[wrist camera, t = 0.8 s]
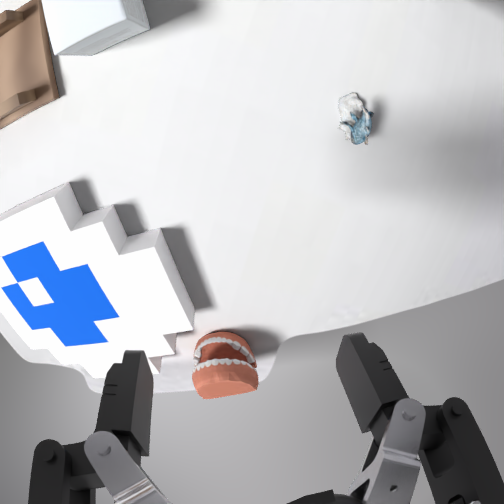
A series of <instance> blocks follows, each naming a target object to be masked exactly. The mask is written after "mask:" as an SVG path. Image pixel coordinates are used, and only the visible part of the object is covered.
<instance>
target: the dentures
mask: <svg viewBox="0 0 504 504" xmlns="http://www.w3.org/2000/svg"><path fill="white" fill-rule="evenodd" d="M193 362H194V365H195V368H194V370H193V373H192V380H193V383H194V386H195V388H196V390H197V392H198V394H199V395H200V396H201V397H203V399H212V398H219V397H225V396H230V395H236V394H242V393H247V392H251V391H255V390H257V387H258V374H257V371H256V369H255V368H257V365H256V361H255V358H254V355H253V353H252V351H251V349H250V347H249V345H248V343H247V342H246V341H245V340H244V339H243V338H241V337H240V336H238V335H237V334H234V333H230V332H216V333H211V334H207V335H205V336H203V337H202V338H201V339H200V340H199V341H198V343H197V345H196V348H195V352H194V359H193Z"/></svg>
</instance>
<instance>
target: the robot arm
mask: <svg viewBox="0 0 504 504" xmlns="http://www.w3.org/2000/svg"><path fill="white" fill-rule="evenodd" d="M336 368H337V372H338V374H339V377H340V379H341V382H342V384H343V387H344V389H345V391H346V394H347V396H348V399H349V401H350V404H351V406H352V409H353V411H354V414H355V416H356V418H357V421H358V424H359V426H360V429H361V431H362V433H365V432H368V431H371V432H372V434H373V437H372V439H371V441H370V444H369V447H368V449H367V452H366V455H365V457H364V460H363V463H362V465H361V468H360V470H359V472H358V475H357V476H356V478H355V479H354V481H353V483H352V484H351V486H350V488H349V490H348V492H347V494H346V495H342V494H334V493H333V490H328V491H325V492H321V493H316V494H311V495H307V496H304V497H301V498H299V499H297V500H295V501H292V502H290V503H287V504H410V501H411V498H412V495H413V491H414V488H415V485H416V481H417V478H418V474H419V470H420V465H421V463H422V466H423V468H424V471H425V474H426V477H427V480H428V482H429V485H430V488H431V491H432V494H433V497H434V500H435V503H436V504H504V483H503V480H502V478H501V476H500V473H499V471H498V468H497V466H496V463H495V461H494V459H493V457H492V454H491V452H490V450H489V448H488V446H487V444H486V441H485V439H484V437H483V435H482V433H481V431H480V429H479V427H478V425H477V423H476V421H475V419H474V417H473V415H472V413H471V411H470V409H469V408H468V405H467V404H466V403H465V402H464V401H463V400H462V399H460V398H456V397H452V398H449V399H447V400H446V401H445V402H444V403H443V405H437V406H423V405H422V404H421V403H420V402H419V401H417V400H415V399H411V398H409V397H408V395H407V393H406V391H405V389H404V388H403V386H402V384H401V382H400V380H399V379H398V377H397V375H396V373H395V372H394V370H393V369H392V366H391V364H390V362H388V359H387V357H386V355H385V353H384V352H383V350H382V349H381V348H380V347H378V346H377V345H376V344H375V343H368V341H367V339H366V337H365V335H364V334H363V333H355V334H348V335H344V336H343V339H342V342H341V345H340V348H339V352H338V355H337V358H336ZM104 385H105V386H104V388H103V395H102V397H101V403H100V408H99V413H98V418H97V424H96V429H95V431H94V433H93V434H91V435H90V436H89V437H88V438H87V440H85V441H83V442H80V443H75V444H68V445H61V444H59V443H58V442H57V441H55V440H51V439H47V440H44V441H41V442H40V443H39V444H38V445H37V446H36V449H35V451H34V456H33V463H32V471H31V479H30V489H29V500H28V504H95V493H96V488H101V487H106V488H107V490H108V491H109V493H110V494H111V495H112V497H113V499H114V501H115V502H114V503H115V504H172V503H171V502H170V501H169V500H168V499H167V498H166V497H165V495H164V494H163V493H162V492H161V491H160V490H159V488H158V487H157V486H156V485H155V484H154V483H153V481H152V480H151V479H150V478H149V476H148V475H147V474H146V473H145V471H144V470H143V469H142V468H141V465H140V464H141V456H149V443H150V425H151V410H152V397H153V375H152V372H151V369H150V366H149V363H148V360H147V357H146V354H145V352H144V350H125V352H124V355H123V360H122V363H113V365H112V366H111V368H110V369H109V370H108V372H107V374H106V379H105V383H104ZM417 455H419V458H420V460H421V462H420V460H418V459H417Z"/></svg>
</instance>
